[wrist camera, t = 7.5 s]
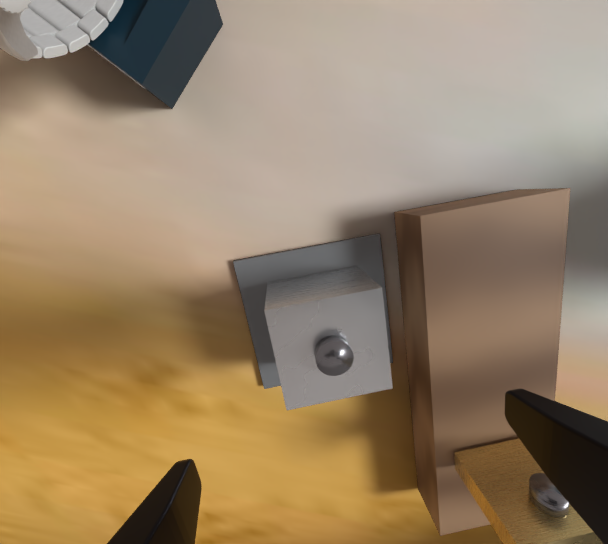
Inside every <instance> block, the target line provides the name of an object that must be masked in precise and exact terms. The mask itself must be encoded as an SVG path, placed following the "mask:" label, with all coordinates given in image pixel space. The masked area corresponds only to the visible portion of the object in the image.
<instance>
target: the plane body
mask: <svg viewBox="0 0 608 544" xmlns="http://www.w3.org/2000/svg"><path fill="white" fill-rule="evenodd" d="M569 200H570V188H559V189H519V190H512V191H507V192H501V193H496V194H490V195H485V196H480V197H474V198H469V199H463V200H458V201H452V202H447V203H441V204H436V205H430V206H425V207H420V208H414V209H409V210H403V211H398V212H394V216H395V227H396V239H397V250H398V262H399V274H400V285H401V297H402V308H403V320H404V331H405V343H406V355H407V366H408V378H409V389H410V401H411V413H412V424H413V436H414V447H415V459H416V471H417V482H418V490H419V492H420V494H421V496H422V498H423V500H424V502H425V505H426V507H427V509H428V511H429V513H430V515H431V517H432V519H433V521H434V523H435V526H436V528H437V530H438V532H439V534H440V536H442V535H446V534H450V533H455V532H459V531H463V530H468V529H472V528H476V527H481V526H485V525H490V522H489V521H488V519H487V518H486V516H485V515H484V513H483V512H482V510H481V508H480V507H479V505H478V504H477V502H476V501H475V499H474V498H473V496H472V495H471V493H470V491H469V490H468V488H467V487H466V485H465V484H464V482H463V481H462V479H461V478H460V476H459V474H458V473H457V471H456V470H455V457H454V452H459V451H464V450H468V449H473V448H477V447H482V446H486V445H491V444H496V443H500V442H505V441H509V440H514V439H519V438H518V436H517V435H516V433H515V432H514V431H513V429H512V428H511V427H510V425H509V424H508V422H507V420H506V418H505V393H506V392H507V391H509V390H513V389H518V388H521V389H525V390H527V391H530V392H532V393H535V394H538V395H540V396H543V397H545V398H548V399H551V400H553V401H555V391H556V377H557V364H558V350H559V336H560V323H561V309H562V295H563V282H564V268H565V254H566V241H567V227H568V213H569Z"/></svg>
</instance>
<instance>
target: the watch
mask: <svg viewBox="0 0 608 544" xmlns="http://www.w3.org/2000/svg"><path fill="white" fill-rule="evenodd" d="M222 25H223V23H222V19H221V16H220V13H219V10H218V7H217V4H216V1H215V0H0V49H2V50H3V51H5V52H6V53H8V54H9V55H11V56H13V57H15V58H17V59H19V60H21V61H29V60H30V59H32V58H41V57H44V58H54V57H58V56H62V55H65V54H67V53H68V51H69V52H71V53H72V52H75V51H77V50H79V49H81V48H82V47H84V46H86V45H88V46H89V47H90V48H92V49H93V50H94V51H96V52H97V53H98V54H99V55H101V56H102V57H103V58H105V59H106V60H107V61H109V62H110V63H111V64H113V65H114V66H115V67H117V68H118V69H119V70H120V71H122V72H123V73H124V74H126V75H127V76H128V77H130V78H131V79H132V80H134V81H135V82H136V83H137V84H139V85H140V86H141V87H143V88H144V89H147V90H148V91H149V92H151V93H152V94H153V95H154V96H156V97H157V98H158V99H160V100H161V101H162V102H164V103H165V104H166V105H168V106H169V107H170V108H171V109H172V108H173V107H174V105H175V103H176V102H177V100H178V98H179V97H180V95H181V93H182V92H183V90H184V88H185V87H186V85H187V83H188V82H189V80H190V78H191V77H192V75H193V73H194V72H195V70H196V68H197V67H198V65H199V63H200V62H201V60H202V58H203V57H204V55H205V53H206V52H207V50H208V48H209V47H210V45H211V43H212V42H213V40H214V38H215V37H216V35H217V33H218V32H219V30H220V28H221V27H222Z"/></svg>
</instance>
